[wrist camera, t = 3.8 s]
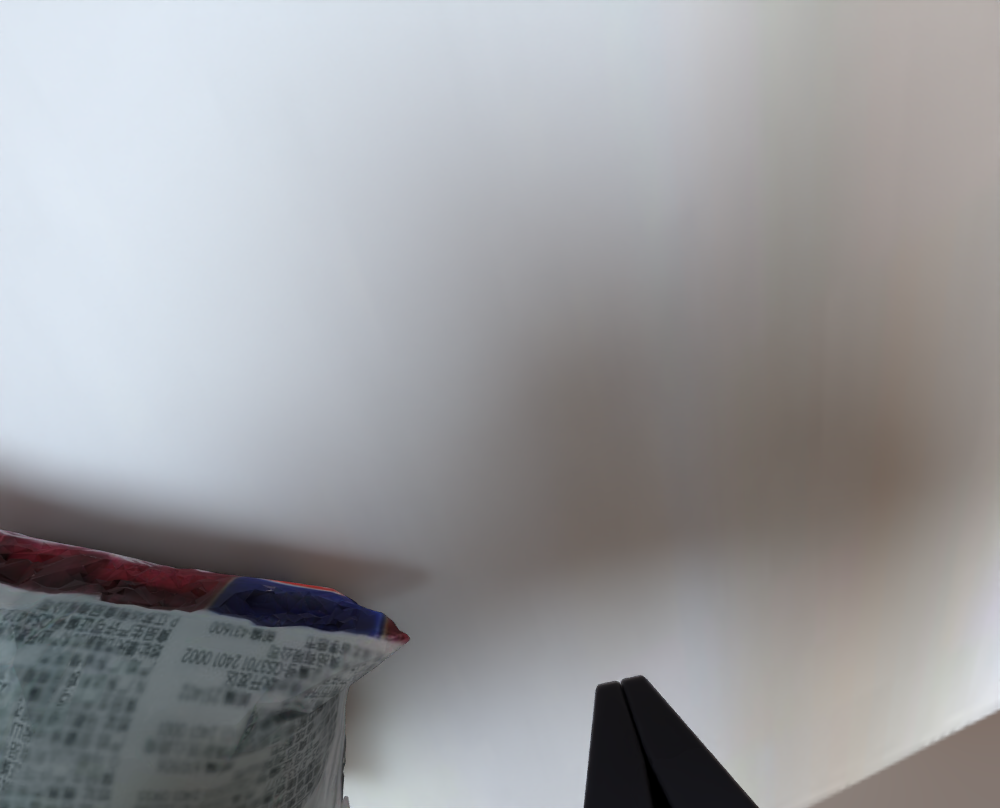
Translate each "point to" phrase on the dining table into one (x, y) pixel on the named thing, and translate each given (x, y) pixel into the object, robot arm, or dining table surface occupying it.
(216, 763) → the packaged food
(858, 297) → the dining table surface
